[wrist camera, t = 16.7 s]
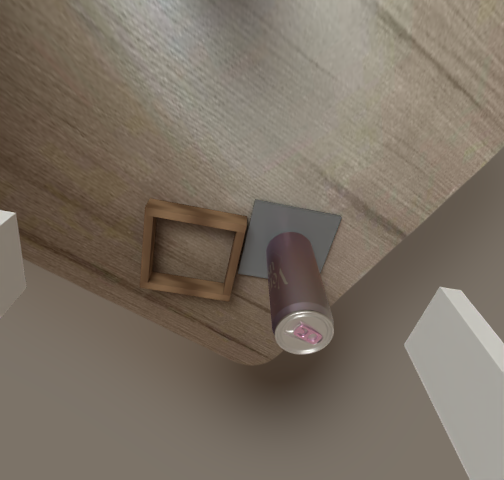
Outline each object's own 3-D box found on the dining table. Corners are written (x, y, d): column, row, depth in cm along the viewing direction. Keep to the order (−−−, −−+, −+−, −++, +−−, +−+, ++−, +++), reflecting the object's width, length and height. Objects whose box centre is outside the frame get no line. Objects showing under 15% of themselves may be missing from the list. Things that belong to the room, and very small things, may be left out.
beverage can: (292, 274, 49) (309, 364, 36) (256, 254, 47) (260, 340, 34) (320, 243, 46) (349, 328, 33) (284, 221, 44) (298, 300, 31)
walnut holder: (144, 276, 49) (139, 287, 47) (150, 198, 43) (144, 207, 41) (229, 289, 51) (229, 301, 48) (246, 216, 45) (246, 226, 42)
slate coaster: (237, 270, 49) (237, 273, 48) (255, 199, 43) (255, 201, 43) (314, 283, 50) (315, 286, 50) (340, 215, 45) (341, 217, 44)
